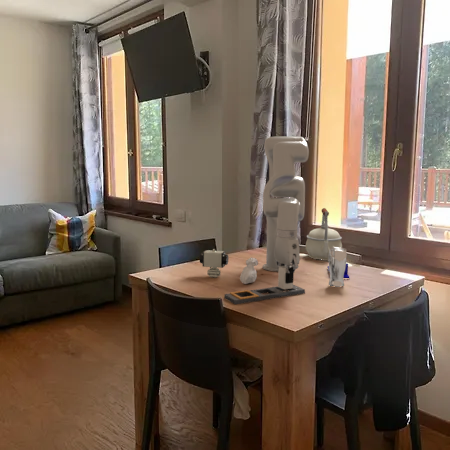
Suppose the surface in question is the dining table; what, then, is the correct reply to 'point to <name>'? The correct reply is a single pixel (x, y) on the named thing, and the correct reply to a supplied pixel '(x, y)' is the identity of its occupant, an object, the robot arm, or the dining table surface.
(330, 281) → the beer glass
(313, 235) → the kettle
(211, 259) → the pneumatic valve
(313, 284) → the dining table surface
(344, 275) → the mounting bracket
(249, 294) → the rail
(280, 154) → the robot arm
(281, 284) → the peg
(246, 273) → the duck figurine
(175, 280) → the dining table surface
